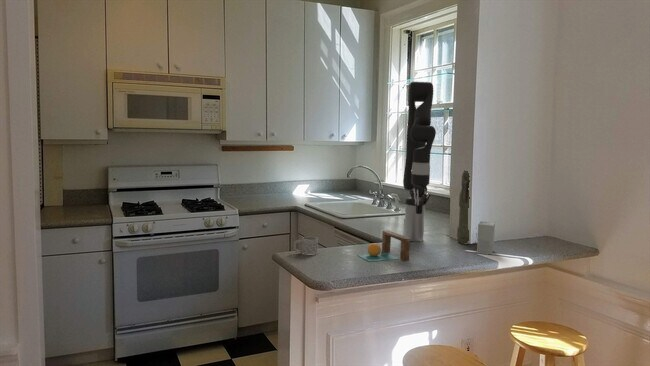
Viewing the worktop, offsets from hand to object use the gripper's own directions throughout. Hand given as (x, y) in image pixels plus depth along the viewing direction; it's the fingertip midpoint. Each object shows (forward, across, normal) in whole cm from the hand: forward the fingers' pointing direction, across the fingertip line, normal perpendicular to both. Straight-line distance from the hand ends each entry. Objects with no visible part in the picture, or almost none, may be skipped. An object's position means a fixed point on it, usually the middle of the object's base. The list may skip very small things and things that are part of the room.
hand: (418, 213), depth 215 cm
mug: (+18, +14, +46) cm, 51 cm away
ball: (+15, +2, +20) cm, 25 cm away
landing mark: (+17, -1, +19) cm, 26 cm away
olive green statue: (+18, +13, -36) cm, 43 cm away
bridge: (+18, -1, +11) cm, 21 cm away
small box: (+18, -6, -32) cm, 37 cm away
